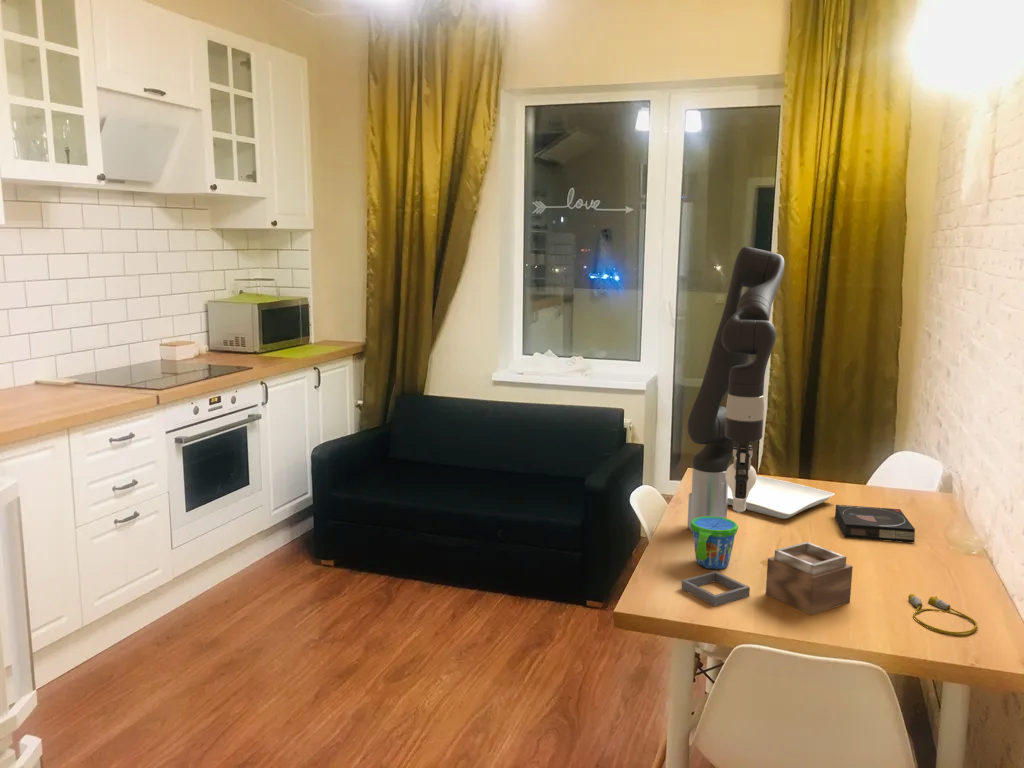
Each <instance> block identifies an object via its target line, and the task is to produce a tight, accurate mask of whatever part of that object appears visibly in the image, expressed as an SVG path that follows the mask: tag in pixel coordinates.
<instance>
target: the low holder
mask: <svg viewBox="0 0 1024 768" xmlns="http://www.w3.org/2000/svg"><path fill="white" fill-rule="evenodd" d="M713 581H716V583H717V582H718V583H717V584H719V583H720V584H719V585H721V586H724V587H726V588H728V589H730V590H728V591H724V592H721V593H718V594H714V593H712V592H710V591H708V590H706V589H704V588H702V587H701V586H704V585H703V584H705V585H707V583H708V584H711V583H710V582H712V583H714V582H713ZM700 585H701V586H700ZM680 588H681V590H682V591H684V590H685V592H686V591H687V593H688V592H689V594H690V593H691V594H690V595H692V594H693V595H692V596H694V595H695V596H694V597H697V598H698V599H700V600H702V601H704V602H706V603H708V604H710V605H712V606H713V607H717V606H720V605H724V604H727V603H731V602H734V601H737V600H740V599H744V598H746V597H750V592H751V591H750V590H751V588H750V586H749V585H746V584H744V583H741V582H739V581H738V580H736V579H733V578H731V577H729V576H727V575H726V574H723V573H721V572H718V571H716V570H715V571H710V572H707V573H704V574H700V575H696V576H693V577H689V578H685V579H682V580H681V587H680Z"/></svg>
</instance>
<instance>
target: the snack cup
mask: <svg viewBox="0 0 1024 768" xmlns="http://www.w3.org/2000/svg"><path fill="white" fill-rule="evenodd" d="M691 528H692V530H693V532H692V537H693V543H694V552H695V560H696V563H697V564H698V565H700V566H701V567H703V568H705V569H713V570H718V569H719V570H720V569H721V570H722V569H725V568H726V567H728V565H729V564H730V560H731V557H732V551H733V548H734V543H735V537H736V534H737V532H738V529H739V525H738V523H737V522H735V521H734V520H731V519H729V518H727V519H726V518H721V517H713V516H704V517H698V518H695V519H693V520H692V522H691Z"/></svg>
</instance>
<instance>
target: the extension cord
mask: <svg viewBox="0 0 1024 768" xmlns="http://www.w3.org/2000/svg"><path fill="white" fill-rule="evenodd" d="M907 599H908V601H909V602H910V604H912V605H913V606H914V607H916V609H915V610H914V611H915V613H914V612H913V615H912V617H913V619H914V618H915V619H916V620H917V621H919V622H920V623H921V624H922V625H921V624H920V623H919V624H920V625H921V626H923V625H924V626H925V627H924V626H923V627H924V628H926V627H928V628H929V629H928V628H927V629H928V630H930V629H931V630H930V631H933V630H934V631H933V632H936V631H937V633H940V634H945V635H949V636H956V635H957V636H958V637H962V636H963V637H965V636H970V635H972V634H974V633H975V632H976V631H977V629H978V623H977V622H976V620H975V619H973V618H971V617H970V616H968V615H967V614H964V613H962V612H961V611H958V610H955V609H954V608H952V607H951V604H950V603H947V601H944V600H942V599H940V598H938V596H930V597H929V599H928V601H927V603H928V604H929V603H930V605H931V604H932V606H933V605H934V607H936V606H937V608H939V609H935V608H923V606H924V605H923V601H922V599H920V598H919V597H918V596H916V595H915V594H914V593H910V594H909V595H908V597H907ZM924 610H925V611H931V610H935V611H934V612H939V611H942V612H941V613H946V612H947V614H950V615H954V616H958V615H959V616H958V617H961V616H962V617H961V618H964V617H965V618H964V619H966V618H968V619H967V620H969V621H970V620H971V622H972V623H973V622H974V623H973V624H974V627H973V628H972V629H969V630H966V631H965V630H964V631H950V630H949V631H948V630H946V629H945V630H944V629H940V628H938V627H934V626H932V625H930V624H927V623H925V622H924V621H922V620H921V619H919V618H918V617H917V616H915V614H916V615H918V614H919V613H922V612H924ZM916 611H917V612H916ZM952 611H953V612H952ZM915 619H914V620H915ZM916 620H915V621H916ZM917 621H916V622H917Z"/></svg>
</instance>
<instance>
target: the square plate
mask: <svg viewBox="0 0 1024 768" xmlns="http://www.w3.org/2000/svg"><path fill="white" fill-rule="evenodd" d="M833 496H835V493H834V492H830V491H827V490H823V489H819V488H817V487H816V488H815V487H812V486H807V485H803V484H799V483H795V482H792V481H787V480H781V479H776V478H771V477H766V476H761V475H757V480H756V483H755V485H754V486H753V488H752V489H751V490H750V492H749V494H748V497H747V499H746V509H747V510H746V511H751V512H754V513H757V512H758V514H761V513H762V514H761V515H765V514H766V516H770V517H773V516H774V518H778V519H783V520H785V519H786V520H787V519H789V518H791V517H794V516H796V515H797V514H799V513H801V512H803V511H805V510H807V509H810V508H812V507H815V506H817V505H820V504H822V503H824V502H826V501H828V500H829V499H831V497H833ZM733 502H734V501H733V496H732V492H731V489H730V487H729V486H728V502H727V506H731V505H732V506H731V507H733V504H734V503H733Z"/></svg>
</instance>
